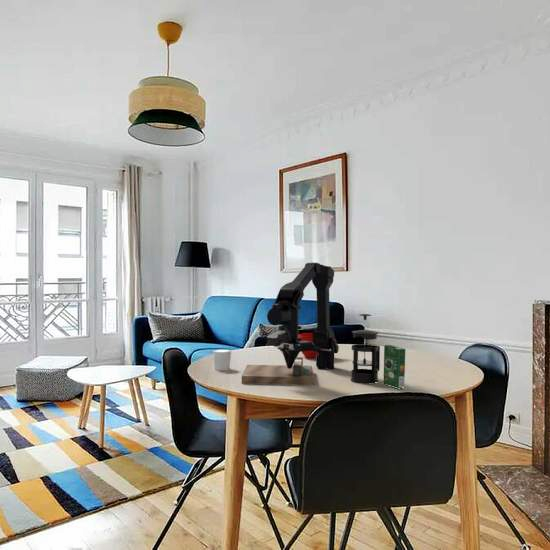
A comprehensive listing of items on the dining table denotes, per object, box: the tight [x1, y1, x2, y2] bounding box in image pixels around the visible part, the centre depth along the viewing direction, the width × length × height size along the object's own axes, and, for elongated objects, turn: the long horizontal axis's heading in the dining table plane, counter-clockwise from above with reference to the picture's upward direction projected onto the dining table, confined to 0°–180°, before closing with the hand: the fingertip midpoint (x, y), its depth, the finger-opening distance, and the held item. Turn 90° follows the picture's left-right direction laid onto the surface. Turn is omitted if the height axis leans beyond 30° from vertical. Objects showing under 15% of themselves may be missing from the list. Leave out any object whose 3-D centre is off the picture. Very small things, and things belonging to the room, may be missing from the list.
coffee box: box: [383, 344, 406, 388], centre depth 153 cm, size 8×3×13 cm, turn 23°
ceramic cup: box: [298, 332, 337, 360], centre depth 208 cm, size 13×17×10 cm
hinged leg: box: [293, 356, 304, 376], centre depth 164 cm, size 18×3×3 cm, turn 176°
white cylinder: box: [212, 349, 232, 371], centre depth 179 cm, size 7×7×7 cm
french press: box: [350, 313, 381, 385], centre depth 162 cm, size 12×9×23 cm
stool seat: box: [241, 364, 315, 386], centre depth 165 cm, size 24×20×4 cm
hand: (289, 368), depth 161 cm, fingers closed
